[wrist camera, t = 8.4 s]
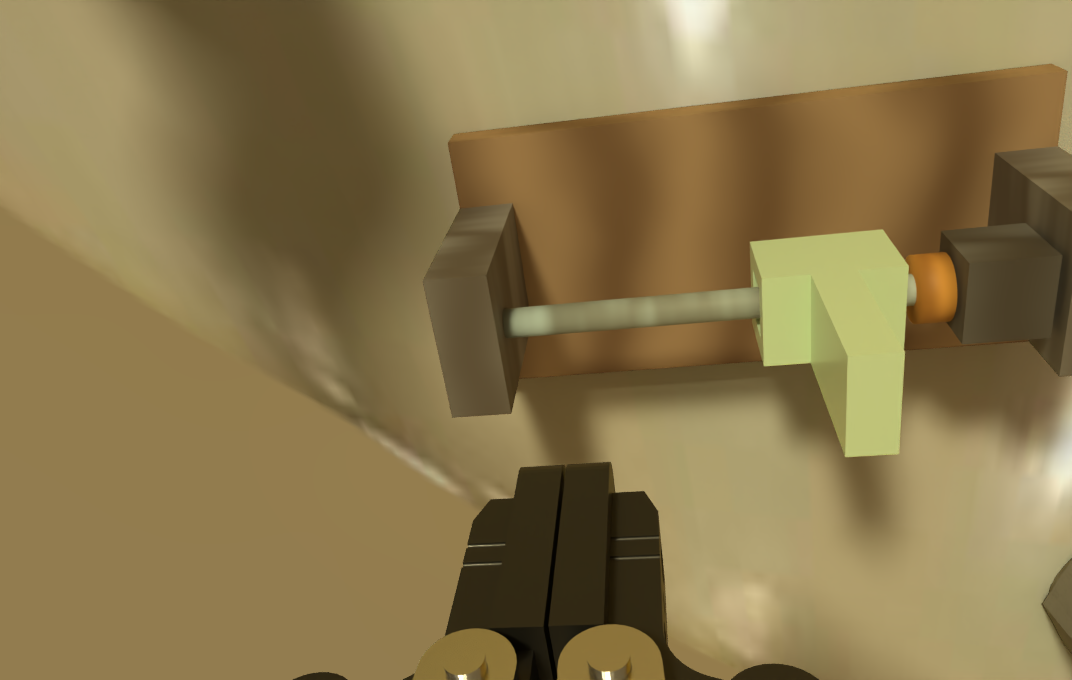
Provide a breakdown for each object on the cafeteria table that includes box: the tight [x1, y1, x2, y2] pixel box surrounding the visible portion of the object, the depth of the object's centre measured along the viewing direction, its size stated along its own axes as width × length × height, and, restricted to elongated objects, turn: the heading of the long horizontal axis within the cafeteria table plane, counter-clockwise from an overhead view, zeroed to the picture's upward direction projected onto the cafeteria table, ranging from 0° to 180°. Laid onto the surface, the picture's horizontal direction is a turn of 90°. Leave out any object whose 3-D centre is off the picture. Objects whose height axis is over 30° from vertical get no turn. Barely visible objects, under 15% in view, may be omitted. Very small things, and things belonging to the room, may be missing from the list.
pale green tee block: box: [750, 229, 909, 457], centre depth 31 cm, size 5×4×10 cm
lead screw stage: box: [423, 64, 1072, 418], centre depth 36 cm, size 25×12×10 cm, turn 98°
